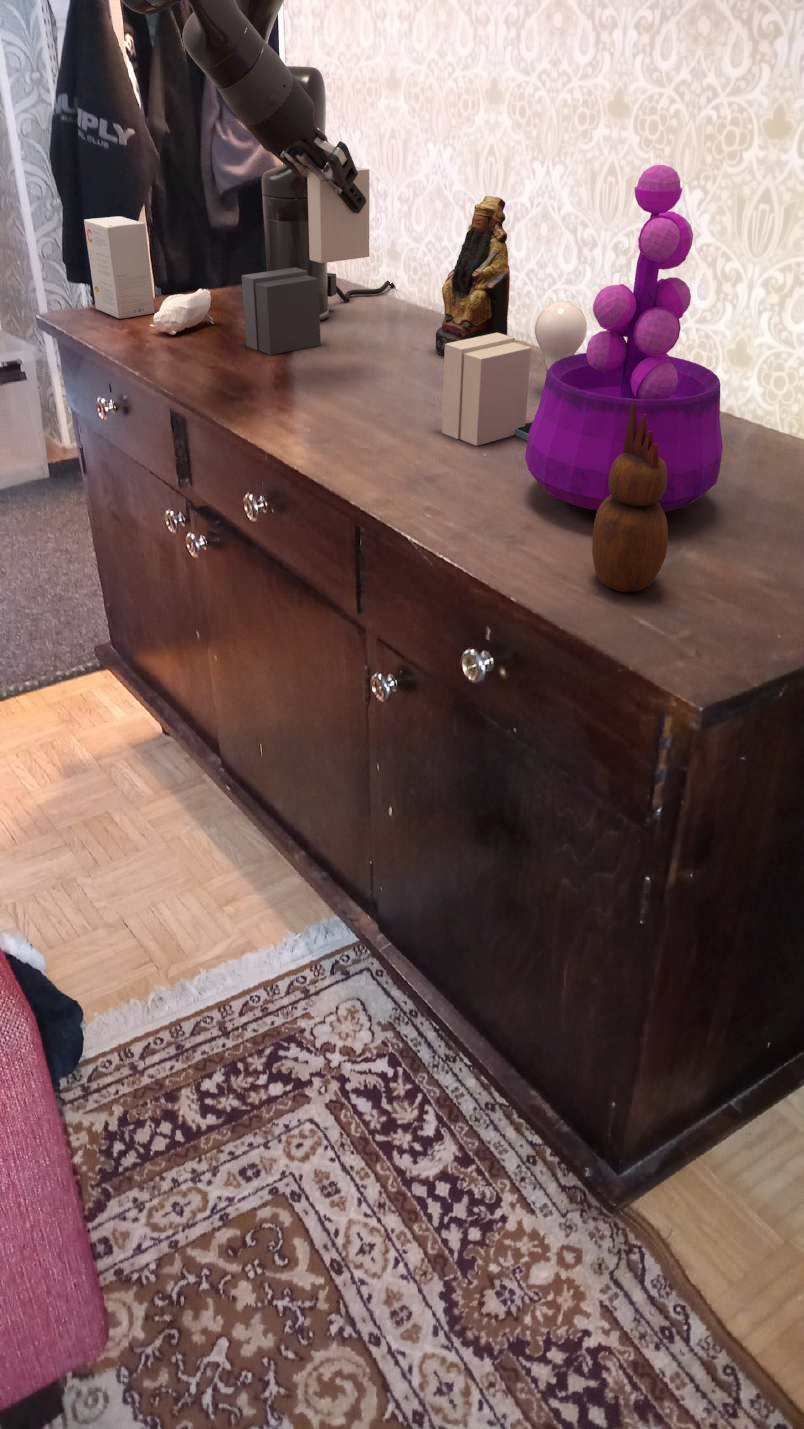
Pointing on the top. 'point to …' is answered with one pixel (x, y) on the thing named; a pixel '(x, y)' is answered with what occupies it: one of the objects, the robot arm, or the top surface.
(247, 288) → the grey books
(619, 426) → the decorative plant
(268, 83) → the robot arm
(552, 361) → the lightbulb
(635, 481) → the wooden figurine
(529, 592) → the top surface
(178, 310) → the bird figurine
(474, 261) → the statue
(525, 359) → the white books
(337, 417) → the top surface
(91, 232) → the small box
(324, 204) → the white book
